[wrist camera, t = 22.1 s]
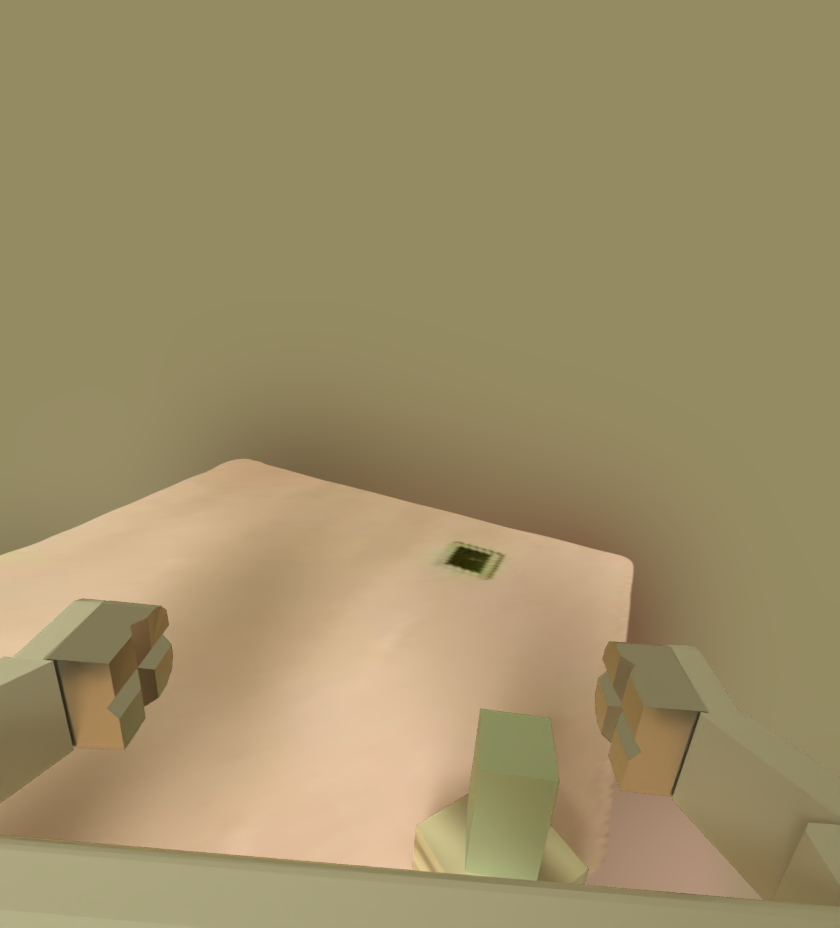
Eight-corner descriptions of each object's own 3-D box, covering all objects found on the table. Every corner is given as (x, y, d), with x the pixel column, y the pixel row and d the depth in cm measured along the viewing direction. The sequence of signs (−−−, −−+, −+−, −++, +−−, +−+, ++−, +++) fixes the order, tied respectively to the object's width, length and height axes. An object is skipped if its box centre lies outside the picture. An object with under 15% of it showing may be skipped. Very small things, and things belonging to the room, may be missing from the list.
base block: (484, 992, 36) (493, 947, 34) (411, 868, 42) (416, 825, 41) (576, 912, 40) (588, 868, 39) (497, 812, 47) (504, 771, 45)
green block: (464, 871, 38) (479, 769, 34) (467, 804, 42) (480, 708, 39) (536, 883, 37) (559, 781, 34) (530, 814, 42) (550, 718, 38)
